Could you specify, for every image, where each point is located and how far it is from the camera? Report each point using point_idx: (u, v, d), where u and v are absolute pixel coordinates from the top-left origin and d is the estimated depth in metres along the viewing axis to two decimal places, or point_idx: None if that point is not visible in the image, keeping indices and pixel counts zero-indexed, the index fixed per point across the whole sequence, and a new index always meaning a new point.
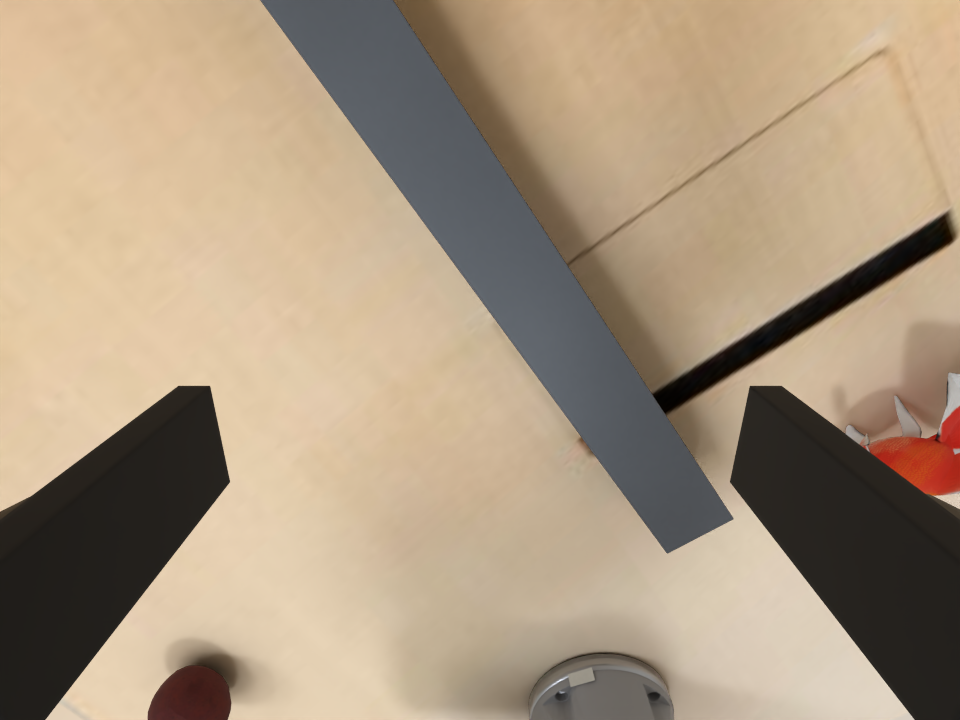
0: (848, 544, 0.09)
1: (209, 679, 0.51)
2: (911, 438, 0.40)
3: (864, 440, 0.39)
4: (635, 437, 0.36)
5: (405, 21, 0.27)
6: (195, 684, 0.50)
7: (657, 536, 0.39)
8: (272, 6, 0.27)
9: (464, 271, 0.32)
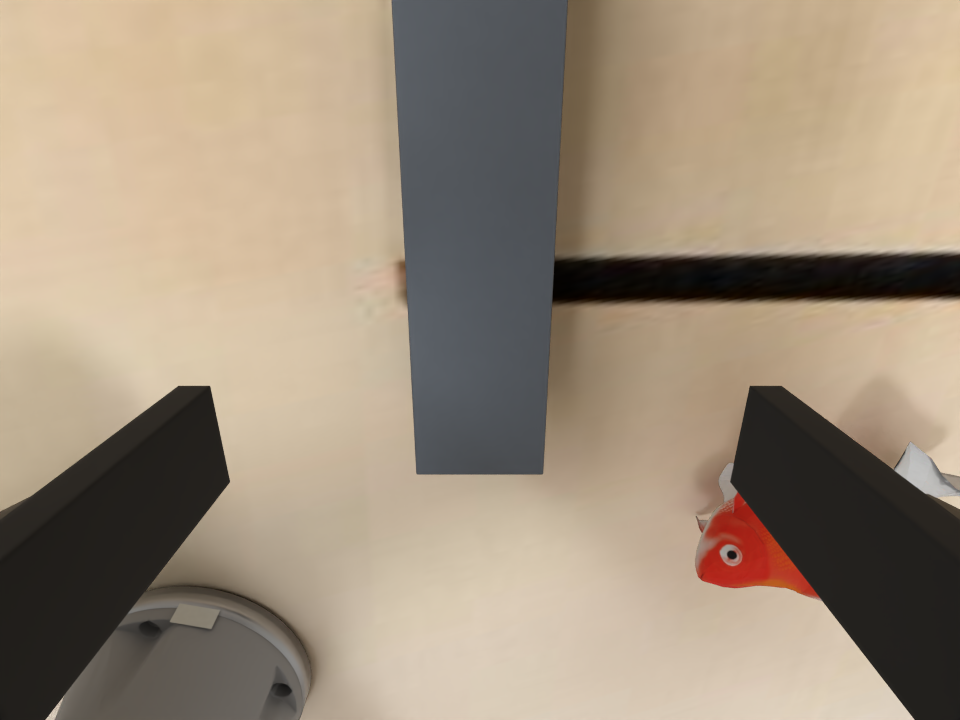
0: (849, 544, 0.09)
1: None
2: None
3: None
4: (485, 233, 0.19)
5: None
6: None
7: (418, 437, 0.22)
8: None
9: None
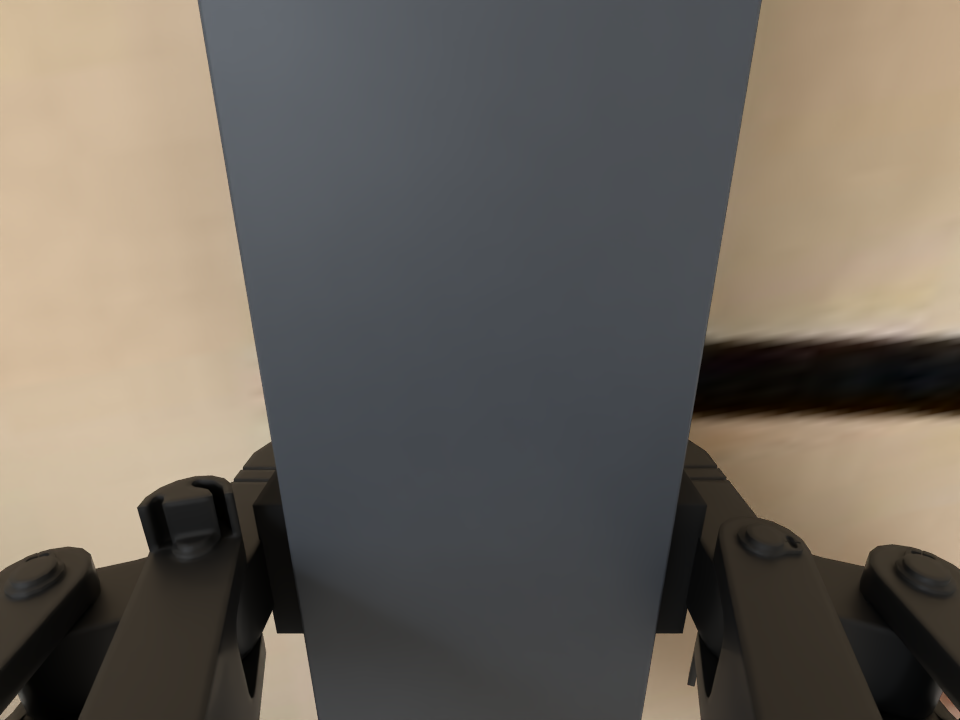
0: None
1: None
2: None
3: None
4: (497, 375, 0.07)
5: None
6: None
7: None
8: None
9: None
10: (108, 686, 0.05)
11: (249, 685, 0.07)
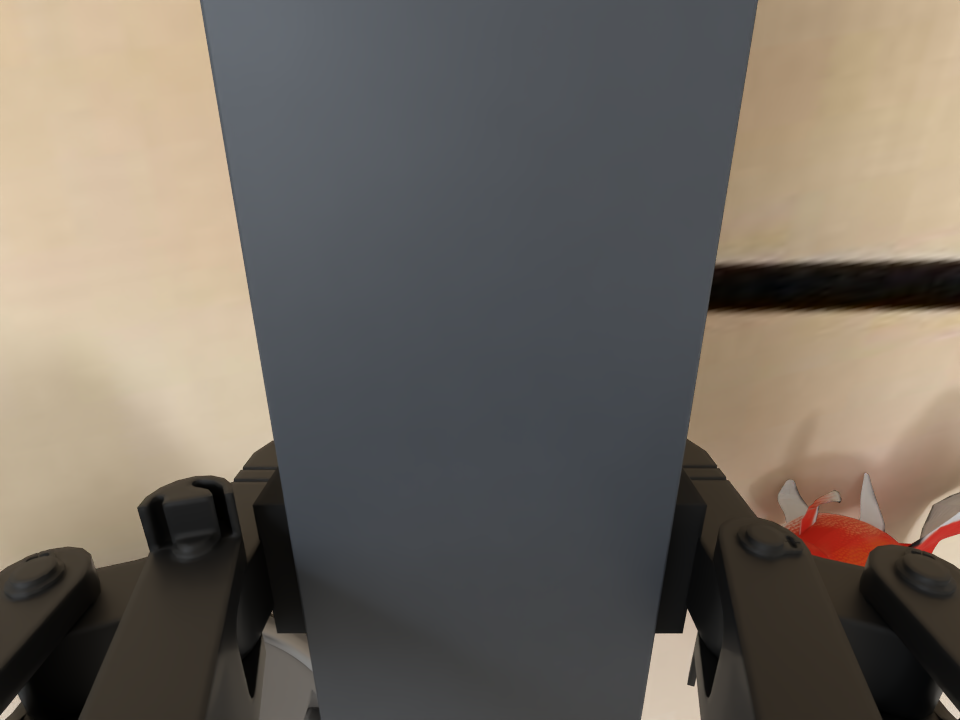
0: None
1: None
2: (879, 529, 0.26)
3: (830, 496, 0.25)
4: (498, 368, 0.07)
5: None
6: None
7: None
8: None
9: None
10: (108, 686, 0.05)
11: (249, 685, 0.07)
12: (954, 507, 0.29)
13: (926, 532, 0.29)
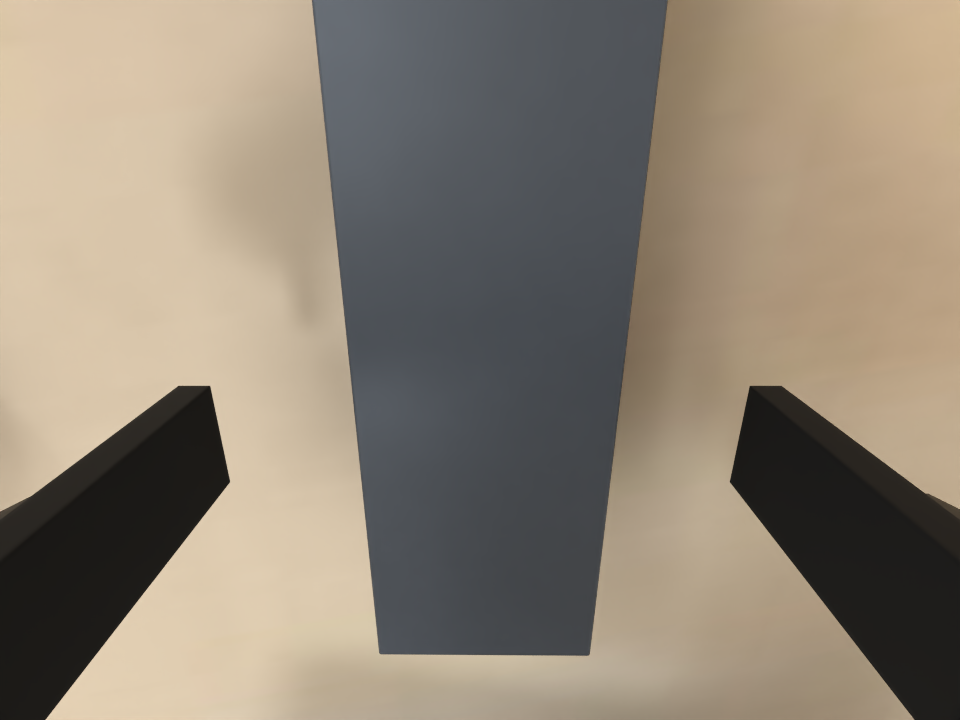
0: (849, 544, 0.09)
1: None
2: None
3: None
4: (499, 265, 0.10)
5: None
6: None
7: (380, 602, 0.13)
8: None
9: None
10: None
11: None
12: None
13: None
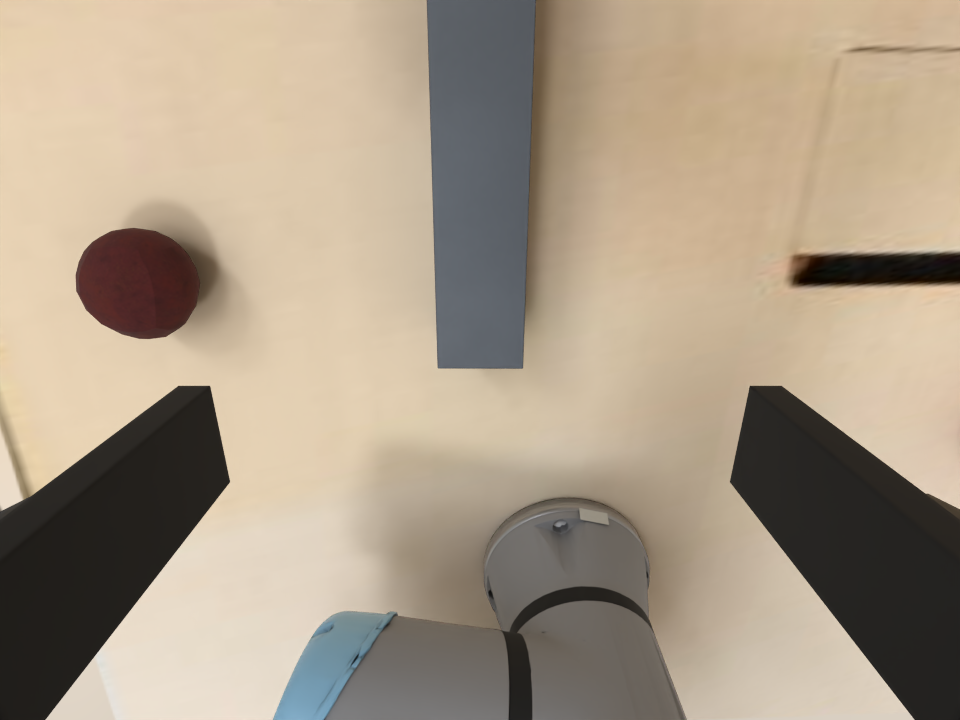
0: (849, 544, 0.09)
1: (191, 264, 0.36)
2: None
3: None
4: (484, 203, 0.30)
5: None
6: (177, 253, 0.35)
7: (439, 341, 0.33)
8: None
9: None
10: None
11: None
12: None
13: None
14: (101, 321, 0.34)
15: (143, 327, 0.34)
